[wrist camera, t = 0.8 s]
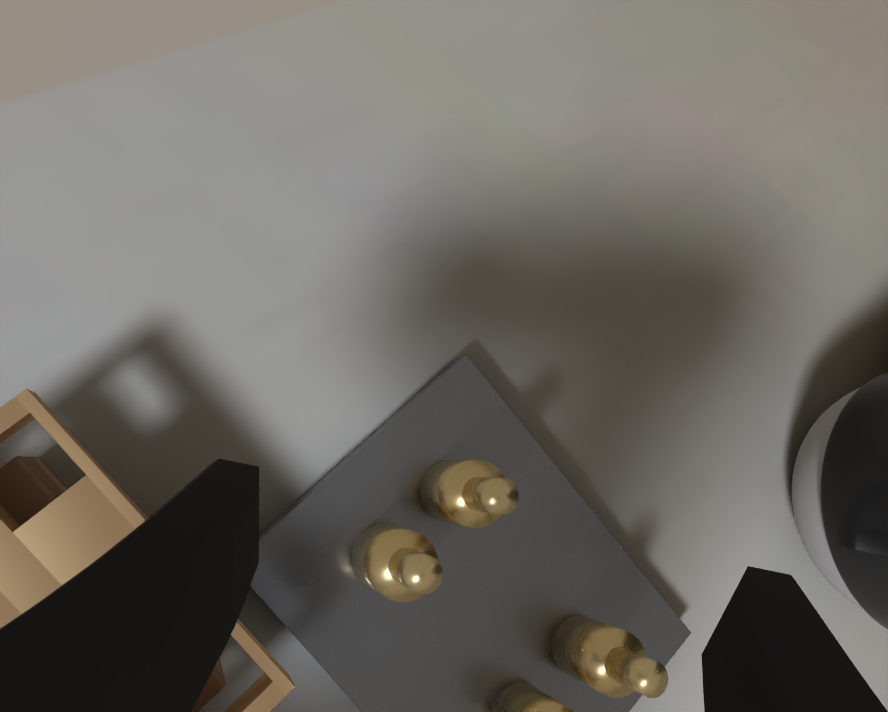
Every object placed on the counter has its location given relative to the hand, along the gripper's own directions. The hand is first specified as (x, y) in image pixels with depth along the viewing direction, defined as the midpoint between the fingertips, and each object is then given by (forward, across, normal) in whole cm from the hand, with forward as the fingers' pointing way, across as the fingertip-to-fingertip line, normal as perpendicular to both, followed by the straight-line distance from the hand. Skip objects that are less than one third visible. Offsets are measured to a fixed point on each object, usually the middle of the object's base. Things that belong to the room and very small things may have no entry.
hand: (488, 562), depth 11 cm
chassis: (+9, -1, +12) cm, 15 cm away
